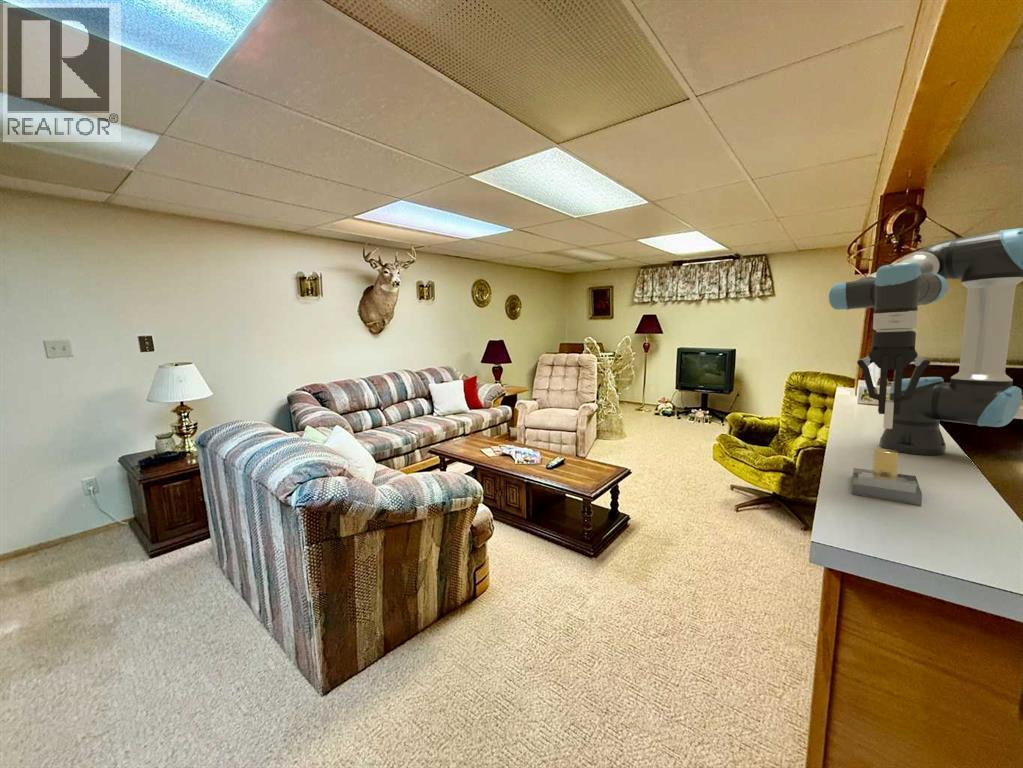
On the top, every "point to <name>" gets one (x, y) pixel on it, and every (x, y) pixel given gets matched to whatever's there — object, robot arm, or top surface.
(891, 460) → the brass rounded cylinder
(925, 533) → the top surface
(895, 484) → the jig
